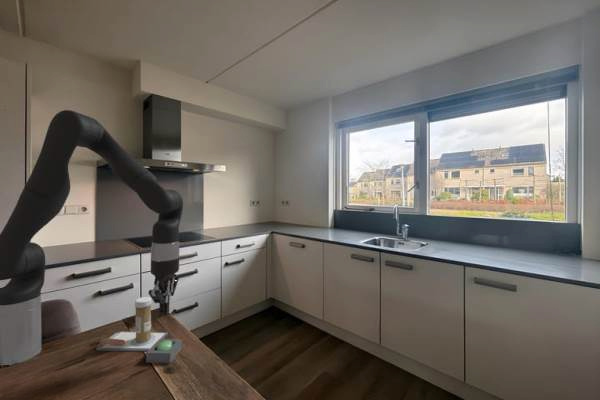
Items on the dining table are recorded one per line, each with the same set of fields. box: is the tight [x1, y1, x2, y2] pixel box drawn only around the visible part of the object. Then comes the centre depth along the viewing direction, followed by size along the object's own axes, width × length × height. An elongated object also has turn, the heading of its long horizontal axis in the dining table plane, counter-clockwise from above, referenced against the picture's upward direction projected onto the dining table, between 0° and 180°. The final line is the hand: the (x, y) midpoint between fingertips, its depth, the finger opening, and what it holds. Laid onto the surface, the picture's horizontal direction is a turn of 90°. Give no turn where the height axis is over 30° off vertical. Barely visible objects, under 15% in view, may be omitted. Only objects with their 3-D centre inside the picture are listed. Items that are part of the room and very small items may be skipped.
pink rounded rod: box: [100, 337, 125, 346], centre depth 81 cm, size 7×2×2 cm, turn 90°
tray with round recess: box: [95, 330, 169, 353], centre depth 84 cm, size 17×10×1 cm, turn 89°
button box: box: [145, 338, 183, 364], centre depth 78 cm, size 7×7×3 cm
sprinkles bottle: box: [134, 296, 152, 343], centre depth 84 cm, size 5×5×13 cm
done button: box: [157, 341, 172, 351], centre depth 78 cm, size 4×4×3 cm
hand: (164, 313), depth 77 cm, fingers closed
